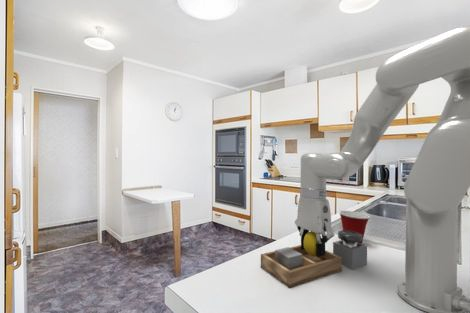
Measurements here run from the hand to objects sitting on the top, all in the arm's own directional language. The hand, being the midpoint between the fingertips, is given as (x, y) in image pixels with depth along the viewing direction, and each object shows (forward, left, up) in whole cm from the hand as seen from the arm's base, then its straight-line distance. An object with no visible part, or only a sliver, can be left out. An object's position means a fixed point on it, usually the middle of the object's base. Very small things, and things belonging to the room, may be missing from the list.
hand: (312, 251), depth 75 cm
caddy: (0, +5, -4) cm, 7 cm away
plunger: (-4, -12, -4) cm, 13 cm away
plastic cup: (+6, -28, -5) cm, 29 cm away
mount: (-4, -12, -4) cm, 14 cm away
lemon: (0, 0, -2) cm, 2 cm away
